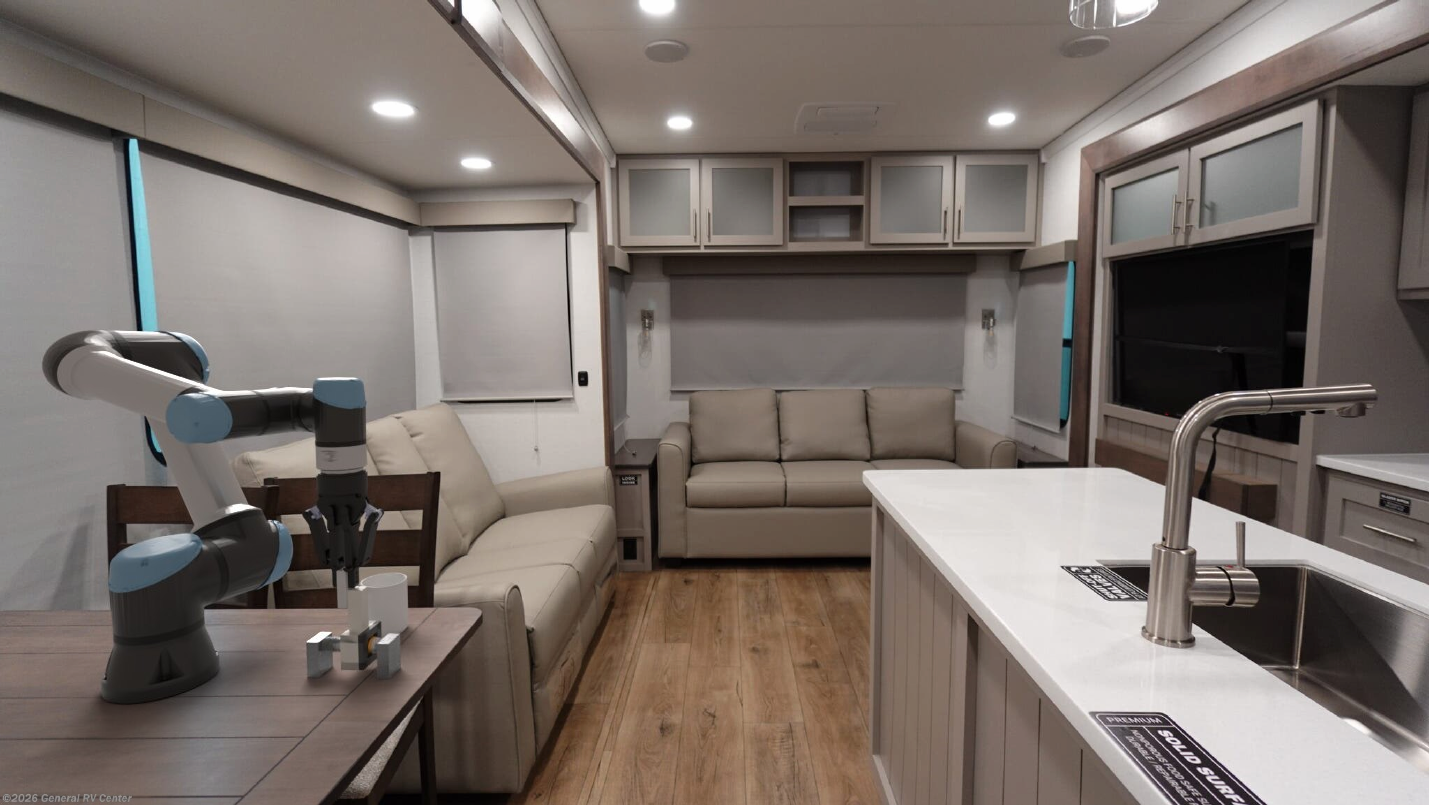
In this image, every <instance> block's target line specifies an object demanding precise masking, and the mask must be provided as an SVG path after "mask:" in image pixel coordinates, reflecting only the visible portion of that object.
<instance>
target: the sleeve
mask: <svg viewBox="0 0 1429 805" xmlns="http://www.w3.org/2000/svg"><path fill="white" fill-rule="evenodd" d="M347 597H348V608H347V621H348V622H347V624H348V629H346V630H345V631H344V632H342V633H341V634H340V635H339V637H340V652H339V653H340V670H341V671H364V670H366V669H367V668H368V667H369V666H370V665H371V664H372V663H374V662H375V660H376V661H377V653H367V639H369V638H370V637H378V638H382V635H381V621H369V614H368V586H360V585H357V586H356V587H354V588H350V589H349V590H347Z"/></svg>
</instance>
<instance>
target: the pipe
mask: <svg viewBox="0 0 1429 805" xmlns="http://www.w3.org/2000/svg"><path fill="white" fill-rule="evenodd" d="M305 646H306V649H305V650H306V669H307V670H306V671H307V673H306V674H307V676H306V677H307V678H315V679H316V678H320V677H322V676H323V675H324V674H325V673H326V672H328V671H329V670H330V669H332V668H333V667H334V660H333V659H334V658H333V654H334V653H335V652H337V653H341V652H340V636H333V632H332V631H331V632H330V631H320V632H318V633H317V634H316V635H315V636H313V637H311V638H310V639H309V640H307V641H306V642H305ZM367 653H377V659H376V665H377V666H376V669H377V671H376V672H377V674H376V675H377V680H390V679H391V678H392V677H394V676H395V675H396V673H397V672H399V670H400V669H401V668H402V667H401V666H402V665H401V664H402V662H401V660H402V659H401V633H399V634H390V633H389V634H387V635H386V636H385V637H384V638H378V637H370V638H369V639H367Z"/></svg>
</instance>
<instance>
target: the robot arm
mask: <svg viewBox="0 0 1429 805" xmlns="http://www.w3.org/2000/svg"><path fill="white" fill-rule="evenodd" d="M208 367H210V361H209V358H208V355H207V353H206V351H205V349H204V348H203V346H202V345H201V344H200V342H198V341H197V340H196V339H194V338H193V337H192V336H190V335H187V334H184V333H181V332H173V331H172V332H171V331H165V330H153V331H131V330H130V331H129V330H128V331H127V330H103V329H94V330H93V329H90V330H82V331H77V332H72V333H70V334H67V335H65V336H63V337H60V338H59V339H57V340H56V341H55V342H53V343H52V344H51V345H50V346H49V347H48V348H47V349H46V351H45V353H44V355H43V357H42V361H41V368H42V373H43V375H44V377H45V379H46V381H47V382H48V383H49V384H50V385H51V386H52V387H53V388H54V389H56V390H57V391H59V392H61V393H63V394H65V395H67V396H70V397H73V398H76V399H79V400H84V401H98V400H100V401H103V402H106V403H108V404H111V405H113V406H116V407H119V408H122V409H125V410H128V411H131V412H134V413H136V414H139V415H142V416H145V417H146V420H147V422H148V424H149V426H150V429H151V431H152V432H153V433H152V434H153V436H154V437H155V440H156V442H157V444H158V446H159V449H160V451H161V453H162V455H163V457H164V460H165V462H166V464H167V467H168V468H169V471H170V473H171V475H172V477H173V479H174V480H173V481H174V482H175V484H176V486H177V489H178V490H179V493H180V495H181V498H182V500H183V502H184V505H185V506H186V509H187V511H188V513H189V516H190V517H191V518H190V519H191V520H192V523H193V527H192V529H191V530H190V532H187V533H183V532H182V533H172V534H169V535H167V536H157V537H153V538H149V539H145V540H142V541H140V542H137V543H134V544H132V545H130V546H129V545H128V547H125V548H123V549H122V550H120V551H119V552H118V553H117V554H116V555H115V556H114V557H113V558H112V559H111V562H110V564H109V573H108V574H109V575H108V581H107V587H108V589H109V598H110V599H109V600H110V610H111V611H110V612H111V622H112V623H111V624H112V626H111V627H112V641H113V646H112V649H111V652H110V655H109V656H108V661H107V664H106V668H105V670H104V671H105V672H104V674H103V675H102V677H101V680H100V681H101V682H100V688H101V690H100V692H101V697H102V699H104V700H105V701H106V702H109V703H112V704H125V705H127V704H140V703H146V702H151V701H157V700H161V699H164V698H168V697H172V696H175V695H179V694H181V693H184V692H187V691H190V690H192V689H194V688H196V687H198V686H200V685H202V684H204V683H206V682H208V681H209V680H210V679H211V678H214V676H216V675H217V673H218V672H219V671H220V669H221V664H220V660H221V659H220V653H219V651H218V650H217V648H215V646H214V643H213V641H212V639H211V637H210V634H209V632H208V630H207V628H206V621H205V607H206V606H209V605H212V604H215V603H218V602H221V601H225V600H228V599H230V598H232V597H233V598H234V597H235V596H238V595H241V594H245V593H247V592H251V591H254V590H260V589H262V588H263V587H264V586H267V585H269V584H272V583H274V582H276V581H278V580H280V579H281V578H283V577H284V575H286V573H287V571H288V570H289V568H290V565H291V564H292V559H293V555H294V554H293V553H294V547H293V546H294V545H293V540H292V536H291V533H290V531H289V529H288V528H287V527H286V525H285V524H283V523H281V522H280V521H279V520H272V519H268V520H267V518H266V516H265V514H264V512H263V509H262V508H260V507H256V506H252V505H251V504H249V502H248V501H247V498H246V496H245V494H244V491H243V489H242V487H241V485H240V483H239V481H238V479H237V477H236V474H235V473H234V470H233V467H232V466H231V464H230V461H229V459H228V457H227V455H226V453H225V452H226V451H225V450H224V448H223V446H222V444H221V442H225V441H233V440H240V439H246V438H253V437H262V436H272V435H279V434H280V435H281V434H289V433H296V432H297V433H298V432H299V433H300V432H301V433H313V434H314V438H315V439H314V445H315V446H314V448H315V467H316V469H317V470H318V472H317V473H316V474H315V477H316V481H315V482H316V493H317V494H318V496H317V499H316V501H315V505H314V506H313V507H311V508H309V509H306V510H304V511H303V512H302V513H301V516H302V517H303V519H304V520H305V522H306V524H308V528H309V531H310V535H311V540H312V542H313V546H314V549H315V552H316V556H317V560H318V562H319V563H318V564H319V565H320V566H321V567H327V568H329V569H330V570H331V578H332V579H331V580H332V581H331V583H332V587H333V588H336V594H337V599H336V600H337V609H339V610H340V609H343V610H344V609H345V610H348V597H347V590H349V589H350V588H354V587H356V586H359V585H360V568H361V567H363V566H365V565H366V564H368V563H369V562H370V561H371V559H372V554H373V551H374V550H373V549H374V544H375V540H376V537H377V531H378V526H379V523H380V521H381V519H382V518H383V516H384V514H385V510H384V509H382V508H379V509H377V508H376V507H374V506H373V505H371V501H370V498H369V496H368V488H369V482H368V480H369V477H368V476H369V475H368V470H367V469H366V468H365V467H367V465H368V451H367V450H368V448H367V407H366V406H367V400H366V393H365V392H366V391H365V384H364V381H362V379H360V378H357V377H319V378H316V379H315V380H314V381H313V383H312V384H313V385H312V388H305V387H304V388H303V387H295V386H289V385H288V386H277V387H270V388H267V389H253V390H252V389H251V390H249V389H248V390H234V391H233V390H231V391H229V390H228V391H225V390H221V389H220V390H219V389H217V388H213V387H211V386H207V382H208V380H209V377H210V373H211V370H210V369H208ZM363 516H364V519H365V521H364V524H363V527H362V528H363V529H362V533H361V538H360V527H361V523H362V522H361V519H362V517H363ZM324 518H325V519H324ZM325 520H326V521H325Z"/></svg>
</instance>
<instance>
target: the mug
mask: <svg viewBox="0 0 1429 805" xmlns="http://www.w3.org/2000/svg"><path fill="white" fill-rule="evenodd" d="M359 586H368V614H369V621H381V635H382V638H384V637H385V636H386V635H387V634H389V633H390V634H401V633H403V632H404V631H405V630H406V629H407V628H408V625H409V604H408V603H409V600H408V599H409V598H408V597H409V596H408V594H409V593H408V576H407V575H406V574H405V573H400V572H385V573H377V574H374V575H371V576H368V577H366V578H363V579H362V580H360V582H359Z"/></svg>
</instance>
